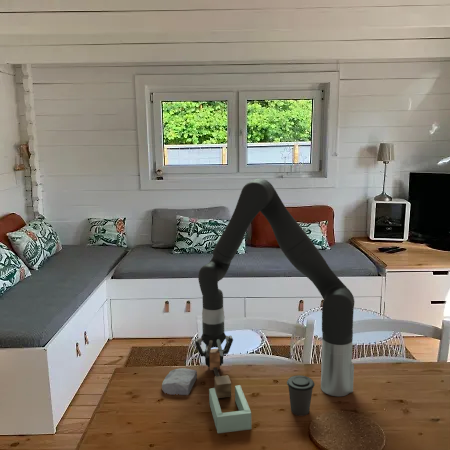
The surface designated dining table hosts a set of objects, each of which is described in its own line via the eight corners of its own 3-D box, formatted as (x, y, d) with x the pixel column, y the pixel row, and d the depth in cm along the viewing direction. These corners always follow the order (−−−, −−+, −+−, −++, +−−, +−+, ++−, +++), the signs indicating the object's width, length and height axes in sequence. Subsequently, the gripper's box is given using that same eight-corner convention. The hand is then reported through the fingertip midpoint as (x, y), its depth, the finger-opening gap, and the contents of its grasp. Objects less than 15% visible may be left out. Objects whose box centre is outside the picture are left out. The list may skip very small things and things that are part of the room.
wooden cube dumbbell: (219, 364, 168) (219, 348, 167) (231, 396, 148) (231, 378, 147) (207, 365, 168) (206, 349, 166) (217, 398, 147) (216, 380, 146)
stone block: (161, 399, 152) (190, 396, 150) (157, 385, 151) (187, 382, 149) (172, 381, 163) (199, 378, 161) (168, 368, 163) (196, 365, 160)
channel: (240, 400, 147) (240, 385, 146) (251, 429, 133) (251, 412, 132) (209, 403, 145) (209, 388, 144) (217, 433, 131) (217, 417, 130)
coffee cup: (315, 405, 144) (316, 375, 142) (311, 420, 136) (312, 389, 134) (289, 400, 146) (289, 370, 144) (283, 415, 139) (284, 384, 137)
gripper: (231, 313, 168) (231, 358, 171) (191, 316, 165) (192, 362, 169) (235, 321, 160) (236, 368, 164) (193, 325, 158) (195, 372, 161)
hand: (214, 365), depth 166 cm, fingers closed on wooden cube dumbbell, 3 cm apart
